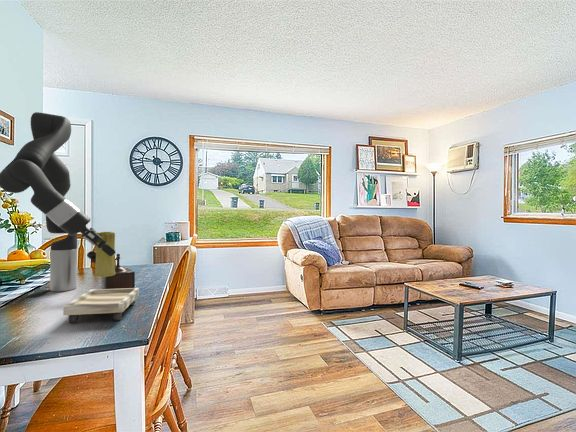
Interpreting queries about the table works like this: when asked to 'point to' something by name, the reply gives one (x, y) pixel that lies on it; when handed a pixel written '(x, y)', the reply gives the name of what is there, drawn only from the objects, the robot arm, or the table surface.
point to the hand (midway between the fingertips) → (111, 253)
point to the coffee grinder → (116, 275)
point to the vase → (105, 256)
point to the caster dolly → (101, 303)
